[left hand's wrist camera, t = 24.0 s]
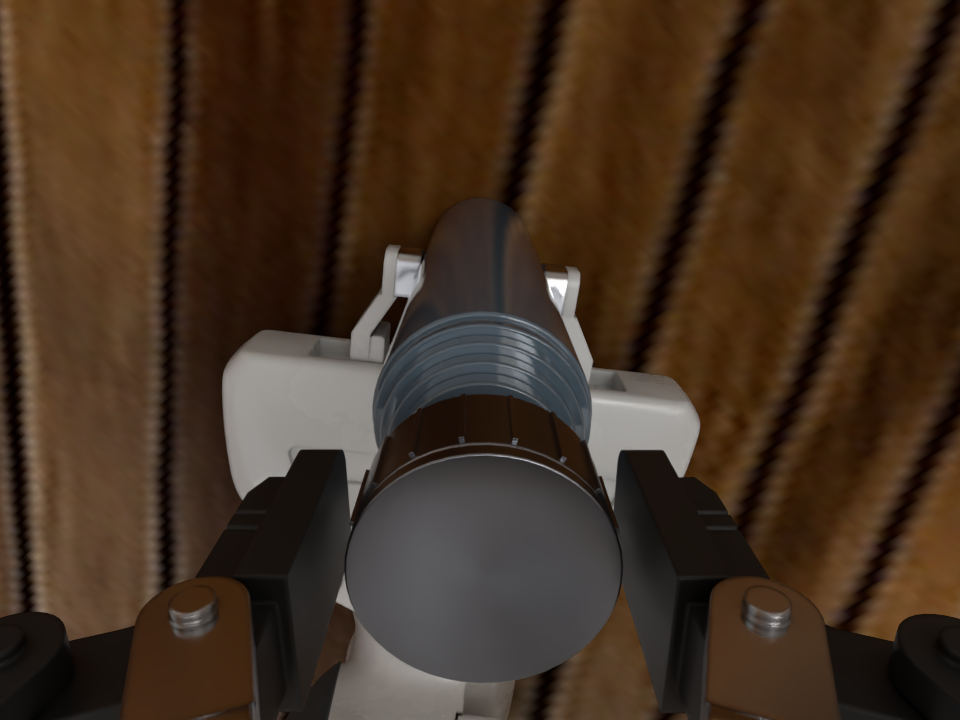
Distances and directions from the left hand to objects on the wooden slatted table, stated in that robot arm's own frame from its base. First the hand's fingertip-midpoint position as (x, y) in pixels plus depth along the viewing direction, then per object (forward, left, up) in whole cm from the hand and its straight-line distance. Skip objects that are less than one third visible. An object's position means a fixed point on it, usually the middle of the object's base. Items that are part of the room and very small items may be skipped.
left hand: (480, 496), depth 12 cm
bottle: (0, 0, -23) cm, 23 cm away
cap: (0, 0, +2) cm, 2 cm away
